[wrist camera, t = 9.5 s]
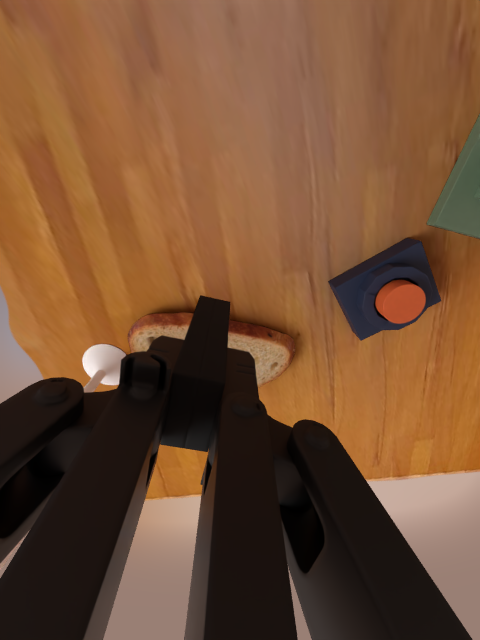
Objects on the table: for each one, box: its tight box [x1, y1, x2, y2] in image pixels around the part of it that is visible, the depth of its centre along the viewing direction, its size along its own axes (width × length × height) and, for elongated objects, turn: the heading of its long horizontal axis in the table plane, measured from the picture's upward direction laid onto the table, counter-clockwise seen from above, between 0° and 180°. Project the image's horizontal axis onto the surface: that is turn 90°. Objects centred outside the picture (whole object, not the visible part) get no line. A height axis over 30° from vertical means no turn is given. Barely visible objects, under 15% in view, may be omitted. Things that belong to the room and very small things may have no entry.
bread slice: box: [128, 312, 295, 387], centre depth 36 cm, size 18×18×4 cm
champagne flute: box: [0, 344, 126, 570], centre depth 28 cm, size 7×7×24 cm
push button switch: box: [328, 238, 441, 340], centre depth 33 cm, size 10×8×4 cm
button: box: [375, 279, 426, 324], centre depth 30 cm, size 4×4×2 cm
